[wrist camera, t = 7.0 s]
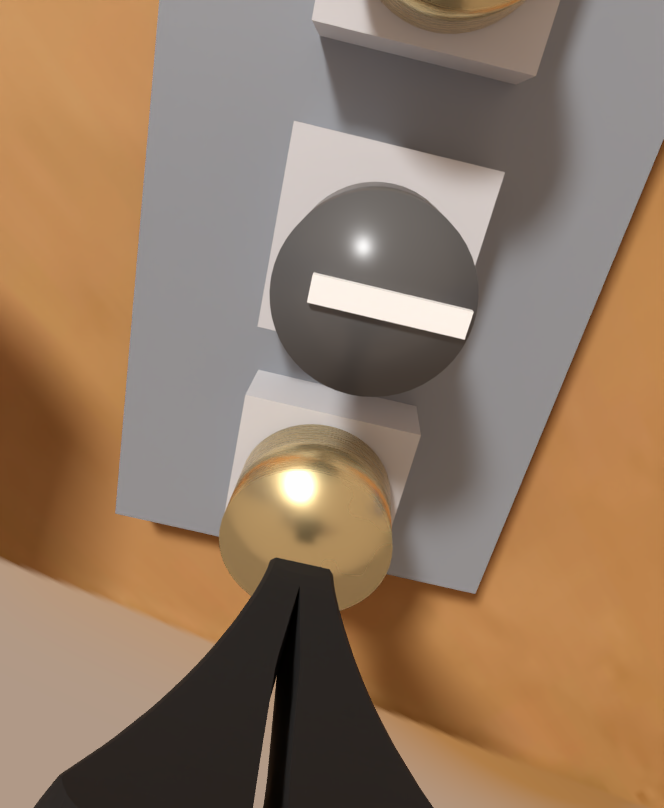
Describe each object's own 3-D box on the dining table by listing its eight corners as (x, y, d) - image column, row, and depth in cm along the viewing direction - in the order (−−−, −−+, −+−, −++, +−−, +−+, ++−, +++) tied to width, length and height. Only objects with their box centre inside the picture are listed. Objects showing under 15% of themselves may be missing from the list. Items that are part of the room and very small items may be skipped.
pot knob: (287, 309, 15) (252, 375, 11) (316, 160, 14) (289, 167, 9) (424, 341, 15) (444, 419, 11) (467, 196, 14) (510, 220, 9)
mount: (136, 483, 23) (89, 549, 19) (216, -313, 14) (159, -481, 10) (467, 558, 23) (484, 636, 19) (754, -171, 14) (888, -283, 10)
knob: (243, 500, 20) (208, 594, 16) (265, 382, 18) (232, 453, 14) (370, 528, 20) (368, 630, 16) (404, 414, 18) (413, 494, 14)
